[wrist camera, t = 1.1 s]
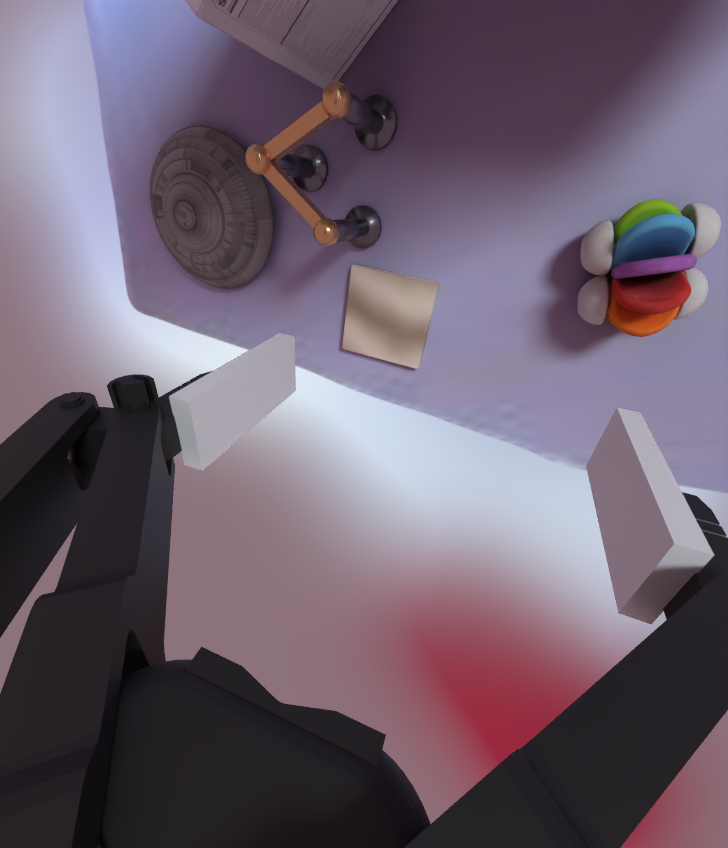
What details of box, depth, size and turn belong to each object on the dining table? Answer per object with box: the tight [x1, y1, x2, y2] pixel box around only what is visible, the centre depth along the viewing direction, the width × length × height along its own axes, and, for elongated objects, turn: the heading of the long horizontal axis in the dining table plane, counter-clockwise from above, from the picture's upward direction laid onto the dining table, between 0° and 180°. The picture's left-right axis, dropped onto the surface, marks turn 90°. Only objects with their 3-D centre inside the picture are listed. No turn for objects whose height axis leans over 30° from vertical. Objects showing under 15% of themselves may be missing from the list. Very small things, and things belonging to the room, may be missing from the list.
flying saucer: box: [150, 126, 273, 288], centre depth 39 cm, size 15×15×6 cm
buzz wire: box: [245, 81, 397, 248], centre depth 31 cm, size 12×10×10 cm
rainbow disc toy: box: [577, 200, 721, 337], centre depth 29 cm, size 8×10×7 cm
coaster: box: [342, 264, 440, 369], centre depth 40 cm, size 9×9×1 cm
